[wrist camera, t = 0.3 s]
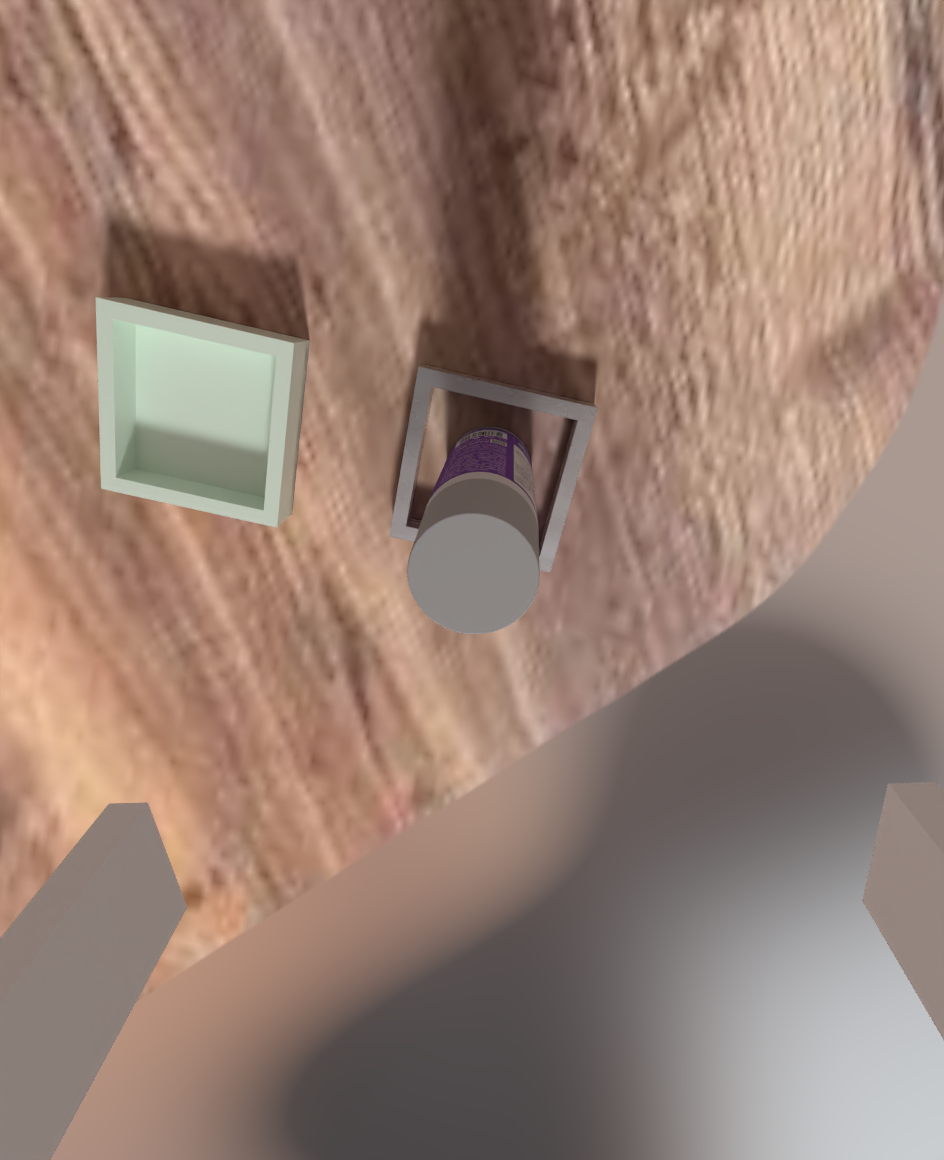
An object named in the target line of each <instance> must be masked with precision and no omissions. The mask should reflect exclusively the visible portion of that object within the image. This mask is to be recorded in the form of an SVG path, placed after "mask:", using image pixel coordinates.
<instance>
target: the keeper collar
mask: <svg viewBox="0 0 944 1160" xmlns="http://www.w3.org/2000/svg"><path fill="white" fill-rule="evenodd" d="M434 387H436V388H440V389H444V390H449V391H453V392H457V393H462V394H466V395H470V396H475V397H479V398H483V399H487V400H492V401H496V402H500V403H505V404H509V405H513V406H518V407H522V408H526V409H531V410H535V411H539V412H544V413H548V414H552V415H557V416H561V417H565V418H570V419H574V422H573V426H572V429H571V433H570V436H569V440H568V444H567V447H566V451H565V454H564V458H563V462H562V465H561V469H560V472H559V476H558V480H557V483H556V487H555V491H554V494H553V498H552V501H551V505H550V509H549V512H548V516H547V519H546V523H545V527H544V530H543V534H542V537H541V541H540V545H539V569H540V570H542V571H546V572H550V571H551V568H552V564H553V561H554V557H555V554H556V550H557V547H558V544H559V540H560V537H561V533H562V530H563V526H564V523H565V519H566V516H567V513H568V509H569V506H570V502H571V499H572V495H573V492H574V488H575V485H576V482H577V478H578V475H579V471H580V468H581V464H582V461H583V457H584V454H585V451H586V447H587V444H588V440H589V437H590V433H591V430H592V426H593V423H594V420H595V416H596V413H597V409H598V408H597V406H596V405H595V404H593V403H589V402H584V401H580V400H576V399H571V398H567V397H563V396H559V395H554V394H550V393H546V392H541V391H537V390H533V389H528V388H524V387H520V386H515V385H511V384H507V383H502V382H498V381H494V380H490V379H485V378H481V377H477V376H472V375H468V374H464V373H459V372H455V371H451V370H446V369H442V368H438V367H433V366H429V365H425V364H422V365H420V366H418V372H417V378H416V384H415V389H414V395H413V401H412V407H411V413H410V419H409V425H408V430H407V436H406V442H405V448H404V454H403V460H402V465H401V471H400V477H399V483H398V489H397V495H396V501H395V506H394V512H393V518H392V524H391V530H390V537H394V538H399V539H403V540H408V541H412V542H414V541H415V538H416V536H417V533H418V530H419V527H420V524H421V521H422V520H417V519H413V518H410V515H411V509H412V504H413V499H414V493H415V488H416V482H417V477H418V471H419V466H420V460H421V455H422V449H423V444H424V438H425V433H426V427H427V422H428V417H429V411H430V406H431V400H432V395H433V389H434Z"/></svg>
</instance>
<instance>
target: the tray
mask: <svg viewBox="0 0 944 1160" xmlns="http://www.w3.org/2000/svg"><path fill="white" fill-rule="evenodd" d="M96 325H97V359H98V393H99V428H100V462H101V489H106V490H110V491H115V492H119V493H124V494H128V495H133V496H137V497H142V498H146V499H151V500H155V501H160V502H164V503H169V504H173V505H178V506H182V507H187V508H191V509H196V510H200V511H205V512H209V513H214V514H218V515H223V516H227V517H232V518H236V519H241V520H245V521H250V522H254V523H259V524H263V525H268V526H272V527H278V526H279V525H280V524H281V523H282V522H284V521H285V520H286V519H287V518H288V517H289V516H290V515H291V514H292V508H293V498H294V488H295V478H296V468H297V459H298V449H299V439H300V429H301V419H302V409H303V399H304V390H305V380H306V370H307V360H308V350H309V340H306V339H301V338H297V337H293V336H288V335H284V334H280V333H275V332H271V331H267V330H262V329H258V328H254V327H249V326H245V325H241V324H237V323H232V322H228V321H224V320H219V319H215V318H211V317H206V316H202V315H198V314H193V313H189V312H185V311H180V310H176V309H172V308H167V307H163V306H159V305H155V304H150V303H146V302H142V301H137V300H133V299H129V298H112V297H96Z"/></svg>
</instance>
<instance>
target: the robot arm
mask: <svg viewBox="0 0 944 1160" xmlns="http://www.w3.org/2000/svg"><path fill="white" fill-rule="evenodd" d="M863 903H864V904H865V906H866V908H867V909H868V911H869V913H870V915H871V916H872V918H873V919H874V921H875V923H876V925H877V926H878V928H879V930H880V932H881V933H882V935H883V937H884V938H885V940H886V942H887V944H888V945H889V947H890V949H891V950H892V952H893V954H894V956H895V957H896V959H897V960H898V962H899V964H900V965H901V967H902V969H903V971H904V973H905V974H906V976H907V978H908V980H909V981H910V983H911V984H912V986H913V988H914V990H915V991H916V993H917V995H918V996H919V998H920V1000H921V1002H922V1003H923V1005H924V1007H925V1009H926V1010H927V1012H928V1014H929V1015H930V1017H931V1018H932V1021H933V1022H934V1024H935V1026H936V1027H937V1029H938V1031H939V1032H940V1034H941V1036H942V1038H943V1039H944V790H943V789H942V788H941V787H940V786H939V785H938V783H897V784H896V783H895V784H888V787H887V792H886V796H885V801H884V805H883V810H882V815H881V819H880V824H879V828H878V833H877V837H876V842H875V846H874V851H873V855H872V860H871V864H870V869H869V874H868V878H867V883H866V887H865V891H864V896H863ZM186 908H187V906H186V903H185V900H184V898H183V895H182V892H181V890H180V887H179V884H178V882H177V879H176V877H175V874H174V871H173V869H172V866H171V863H170V861H169V858H168V855H167V853H166V850H165V847H164V845H163V842H162V839H161V837H160V834H159V831H158V829H157V826H156V823H155V821H154V818H153V815H152V813H151V810H150V807H149V805H148V803H117V804H109V805H108V806H107V807H106V808H105V809H104V811H103V812H102V813H101V814H100V816H99V817H98V818H97V819H96V821H95V822H94V823H93V824H92V826H91V827H90V828H89V829H88V830H87V832H86V833H85V834H84V835H83V837H82V838H81V839H80V840H79V842H78V843H77V844H76V845H75V847H74V848H73V849H72V850H71V851H70V853H69V854H68V855H67V856H66V858H65V859H64V860H63V861H62V863H61V864H60V865H59V866H58V868H57V869H56V870H55V871H54V872H53V874H52V875H51V876H50V877H49V879H48V880H47V881H46V882H45V884H44V885H43V886H42V887H41V889H40V890H39V891H38V892H37V893H36V895H35V896H34V897H33V898H32V900H31V901H30V902H29V903H28V905H27V906H26V907H25V908H24V910H23V911H22V912H21V913H20V915H19V916H18V917H17V918H16V919H15V921H14V922H13V923H12V924H11V926H10V927H9V928H8V929H7V931H6V932H5V933H4V934H3V936H2V937H1V938H0V1160H51V1158H52V1156H53V1154H54V1152H55V1151H56V1149H57V1147H58V1145H59V1143H60V1141H61V1139H62V1138H63V1136H64V1134H65V1132H66V1130H67V1128H68V1127H69V1124H70V1123H71V1121H72V1119H73V1117H74V1115H75V1114H76V1112H77V1110H78V1108H79V1106H80V1104H81V1102H82V1100H83V1099H84V1097H85V1095H86V1093H87V1091H88V1090H89V1087H90V1086H91V1084H92V1082H93V1080H94V1078H95V1077H96V1075H97V1073H98V1071H99V1069H100V1067H101V1066H102V1064H103V1062H104V1060H105V1058H106V1056H107V1054H108V1053H109V1051H110V1049H111V1047H112V1045H113V1043H114V1042H115V1040H116V1038H117V1036H118V1034H119V1032H120V1030H121V1029H122V1027H123V1025H124V1023H125V1021H126V1019H127V1017H128V1016H129V1014H130V1012H131V1010H132V1008H133V1006H134V1005H135V1003H136V1001H137V999H138V997H139V995H140V993H141V992H142V990H143V988H144V986H145V984H146V982H147V981H148V979H149V977H150V975H151V973H152V971H153V969H154V968H155V966H156V964H157V962H158V960H159V958H160V956H161V955H162V953H163V951H164V949H165V947H166V945H167V944H168V942H169V940H170V938H171V936H172V934H173V932H174V931H175V929H176V927H177V925H178V923H179V921H180V920H181V918H182V916H183V914H184V912H185V910H186Z"/></svg>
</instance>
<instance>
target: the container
mask: <svg viewBox="0 0 944 1160" xmlns="http://www.w3.org/2000/svg"><path fill="white" fill-rule="evenodd" d="M407 574H408V583H409V587H410V590H411V593H412V595H413V597H414V599H415V601H416V603H417V604H418V606H419V607H420V608H421V610H422V611H423V612H424V613H425V614H426V615H427V616H428V617H430V618H431V619H432V620H433V621H435V622H436V623H438V624H440V625H441V626H443V627H445V628H447V629H450V630H453V631H456V632H460V633H467V634H484V633H490V632H494V631H497V630H500V629H502V628H505V627H507V626H509V625H510V624H512V623H513V622H515V621H516V620H518V619H519V618H520V617H521V616H522V615H523V614H524V613H525V612H526V611H527V610H528V608H529V607H530V605H531V604H532V602H533V600H534V598H535V596H536V593H537V590H538V586H539V579H540V569H539V535H538V517H537V508H536V499H535V490H534V482H533V473H532V464H531V459H530V456H529V453H528V450H527V448H526V447H525V445H524V444H523V442H522V441H521V440H520V439H519V438H518V437H517V436H516V435H514V434H513V433H511V432H510V431H508V430H506V429H503V428H499V427H494V426H485V427H479V428H476V429H473V430H471V431H469V432H467V433H466V434H464V435H463V436H462V437H461V438H459V439H458V441H457V442H456V443H455V444H454V446H453V448H452V449H451V451H450V453H449V456H448V458H447V460H446V462H445V465H444V467H443V469H442V472H441V474H440V476H439V478H438V481H437V483H436V485H435V487H434V490H433V492H432V494H431V497H430V499H429V501H428V503H427V506H426V508H425V512H424V515H423V518H422V521H421V524H420V527H419V530H418V533H417V536H416V538H415V541H414V544H413V547H412V550H411V553H410V556H409V560H408V569H407Z"/></svg>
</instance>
